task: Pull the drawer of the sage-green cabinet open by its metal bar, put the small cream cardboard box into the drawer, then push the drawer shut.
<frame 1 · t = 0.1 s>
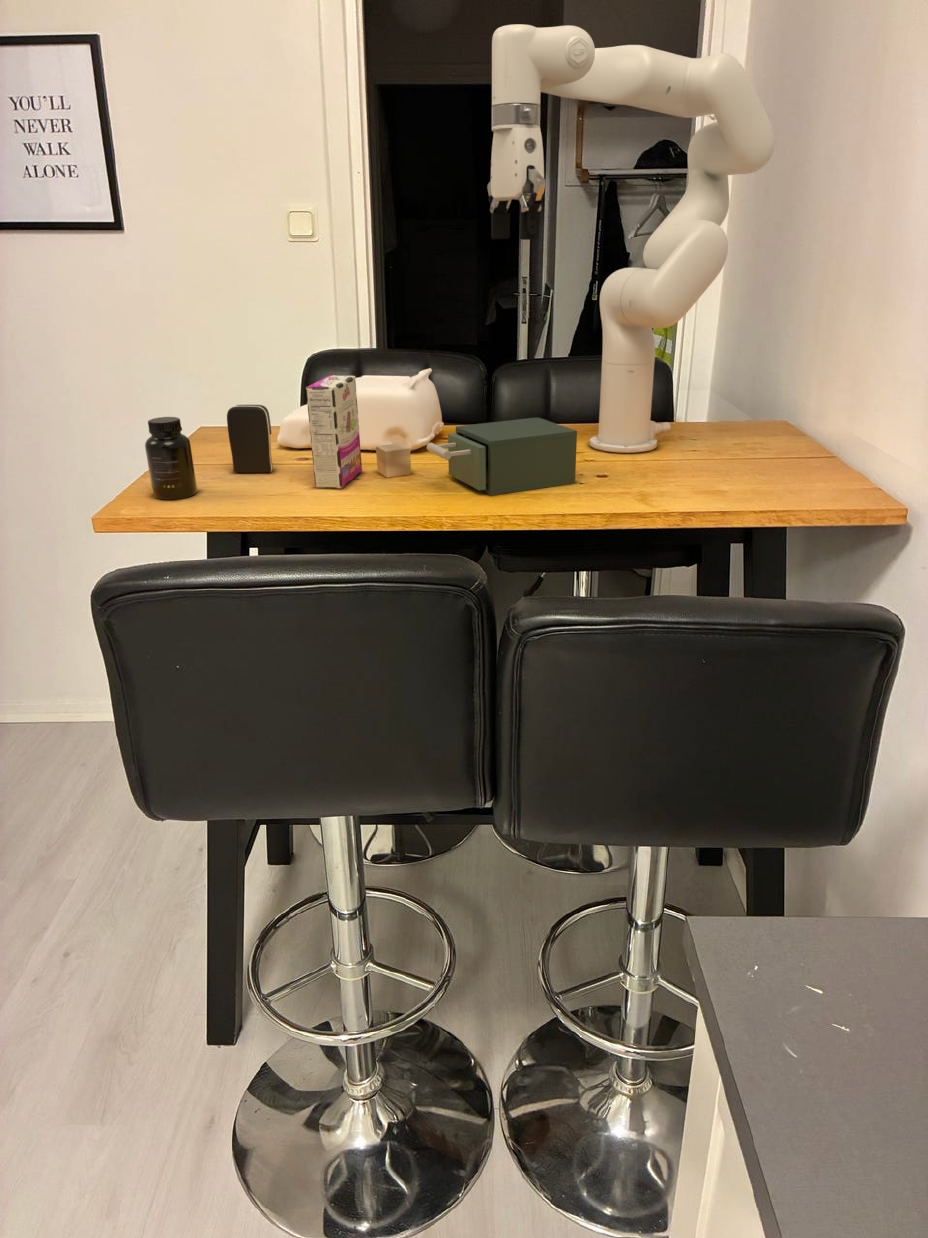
hand: (514, 239, 147), 37 cm above the table, tool pointing down, fingers open, 9 cm apart
supplement bottle: (175, 495, 144), on the table
candy bar box: (338, 481, 151), on the table
drawer: (489, 457, 146), point 4 cm above the table, slide at 0.5 cm
white rounded body: (364, 442, 178), on the table
cabinet: (514, 480, 150), on the table
cream box: (394, 473, 155), on the table
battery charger: (254, 471, 158), on the table
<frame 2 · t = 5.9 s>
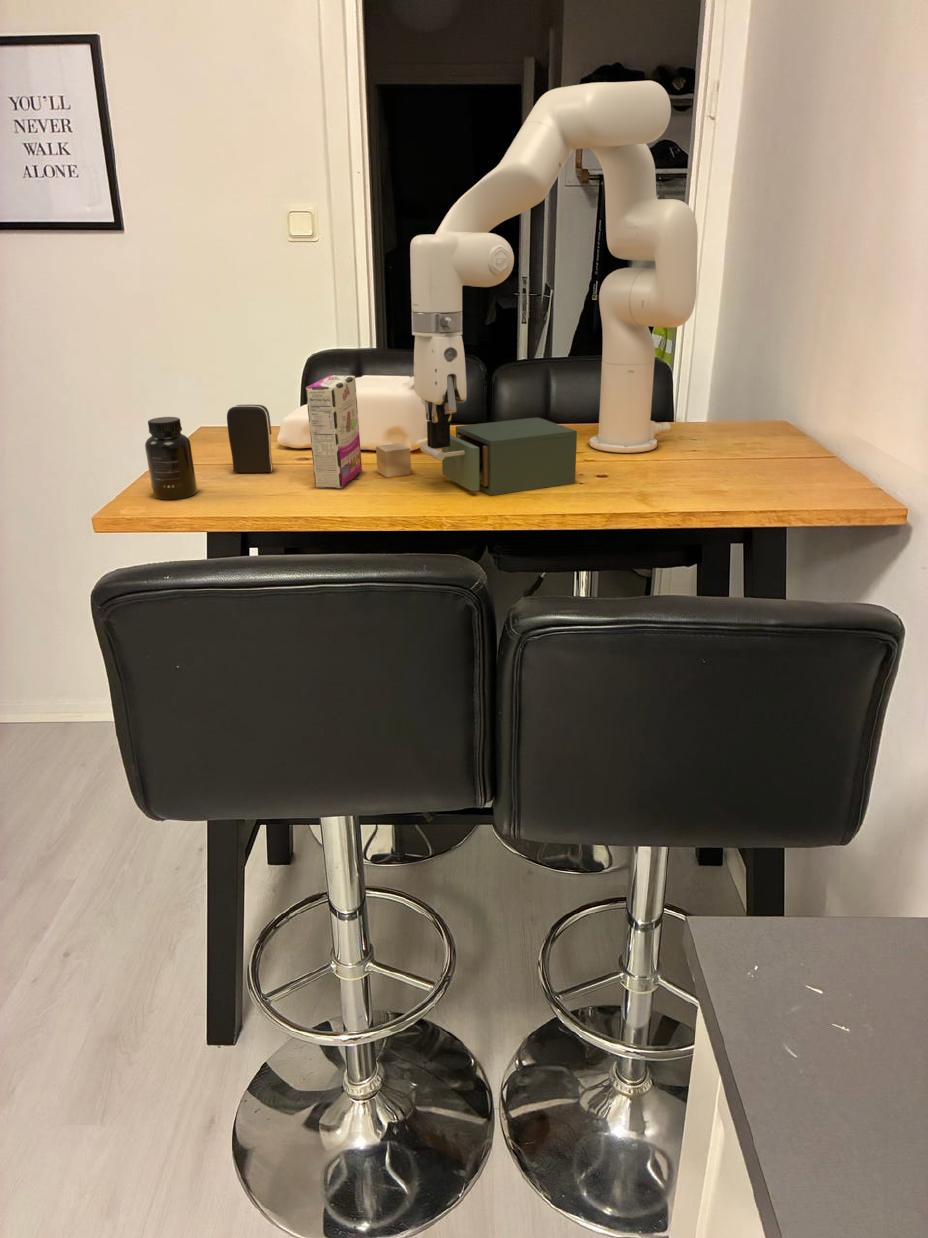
hand: (438, 446, 142), 7 cm above the table, tool pointing down, fingers closed
drawer: (483, 458, 146), point 4 cm above the table, slide at 1.6 cm, touching gripper
everything else where it was.
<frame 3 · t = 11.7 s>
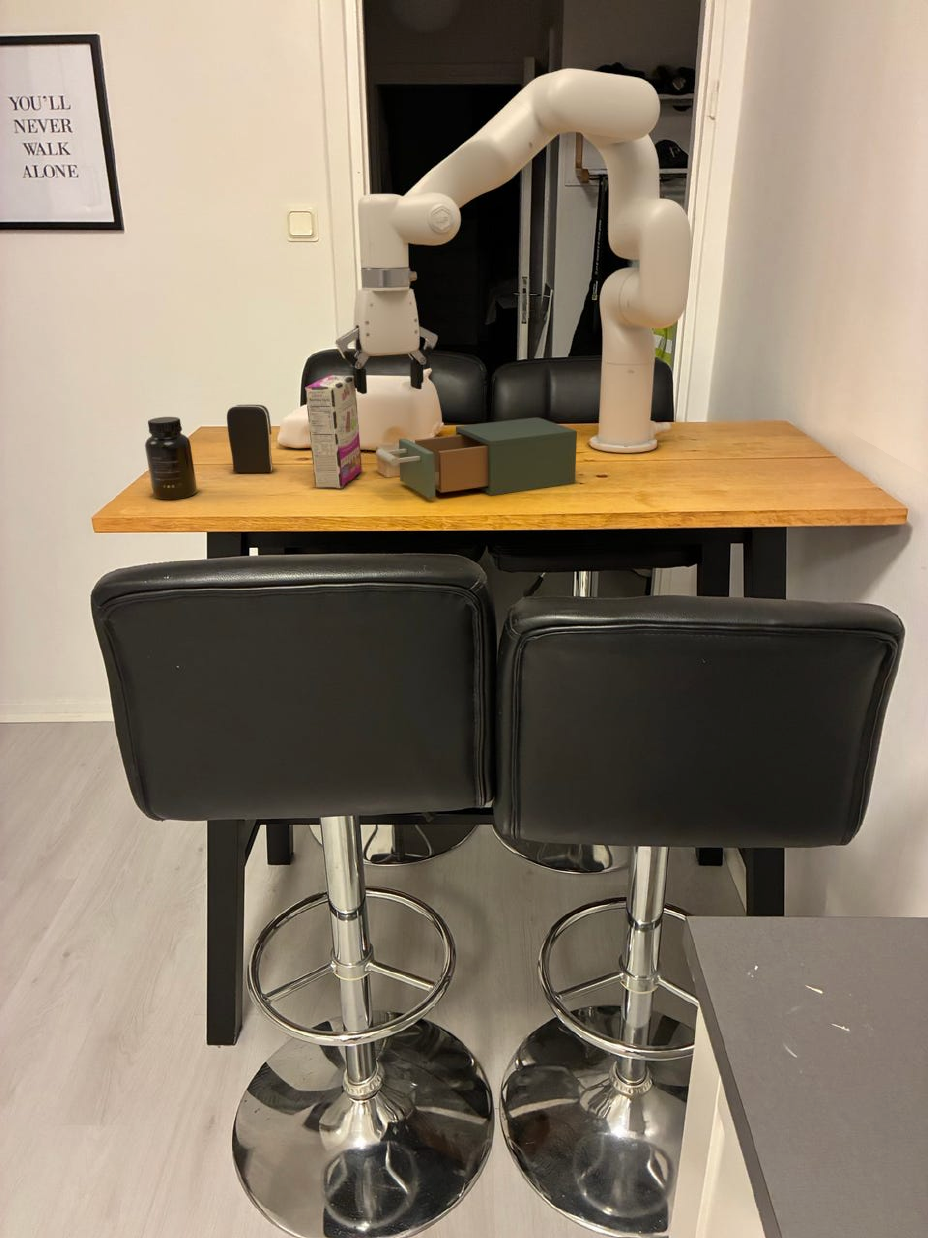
hand: (389, 390, 149), 14 cm above the table, tool pointing down, fingers open, 9 cm apart
candy bar box: (338, 481, 151), on the table, touching gripper
drawer: (441, 464, 143), point 4 cm above the table, slide at 9.2 cm
everything else where it was.
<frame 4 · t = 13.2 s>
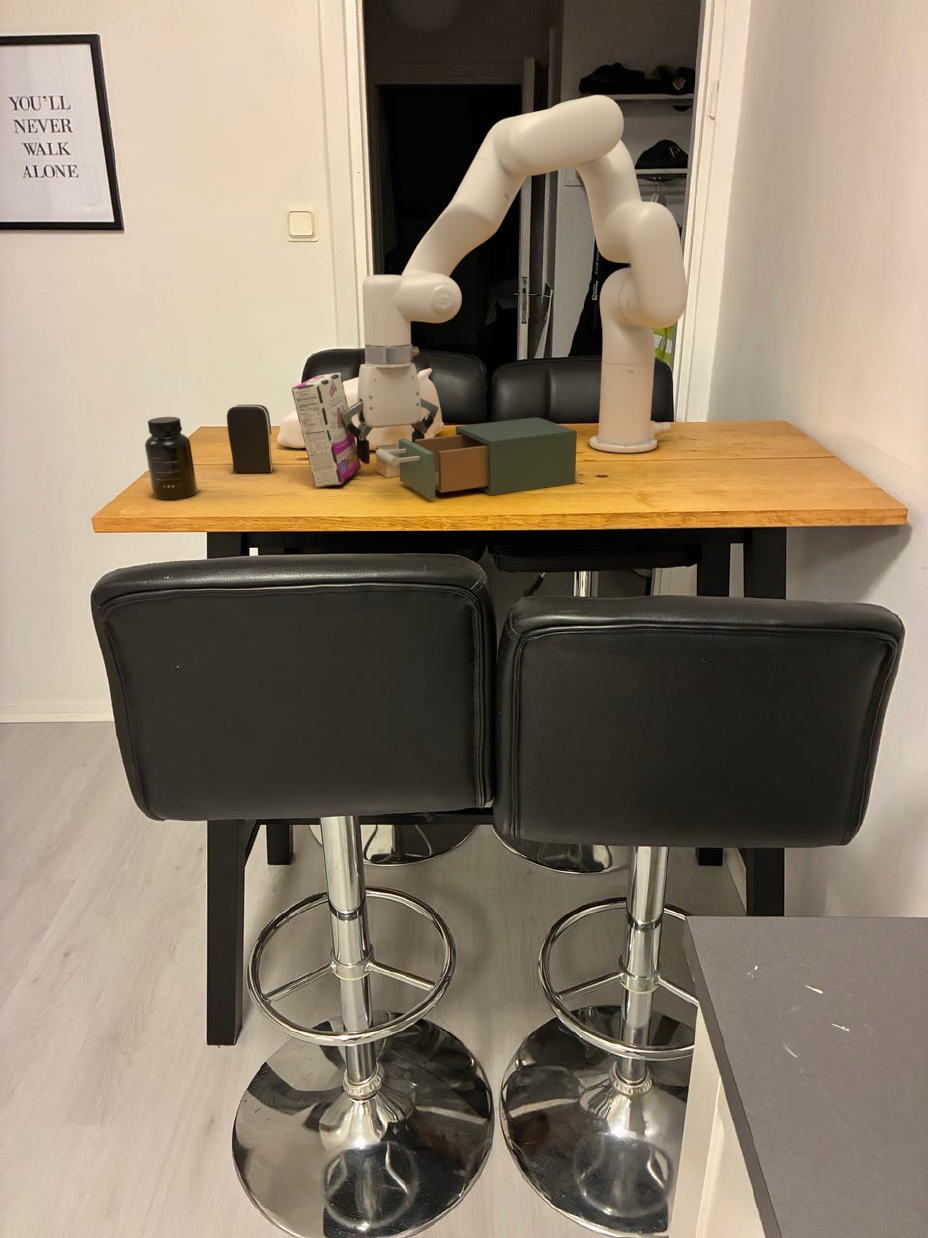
hand: (391, 459, 154), 2 cm above the table, tool pointing down, fingers open, 9 cm apart
candy bar box: (338, 479, 151), on the table
everything else where it was.
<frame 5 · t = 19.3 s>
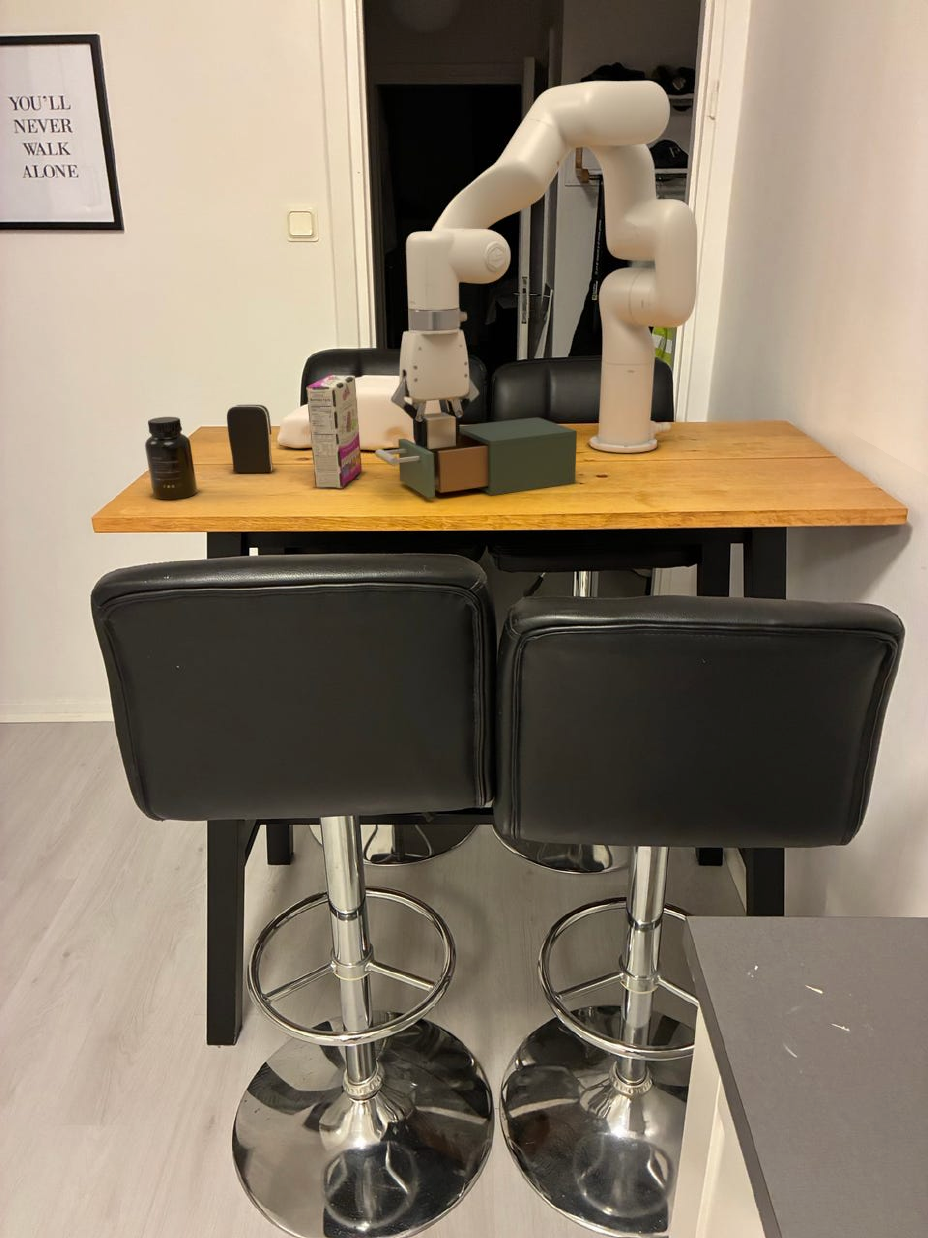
hand: (436, 442, 141), 8 cm above the table, tool pointing down, fingers closed on cream box, 4 cm apart
cream box: (436, 444, 141), point 7 cm above the table, touching gripper
when the fingers open (9 cm above the table, at t = 28.7 s): cream box drops 7 cm, resting on drawer.
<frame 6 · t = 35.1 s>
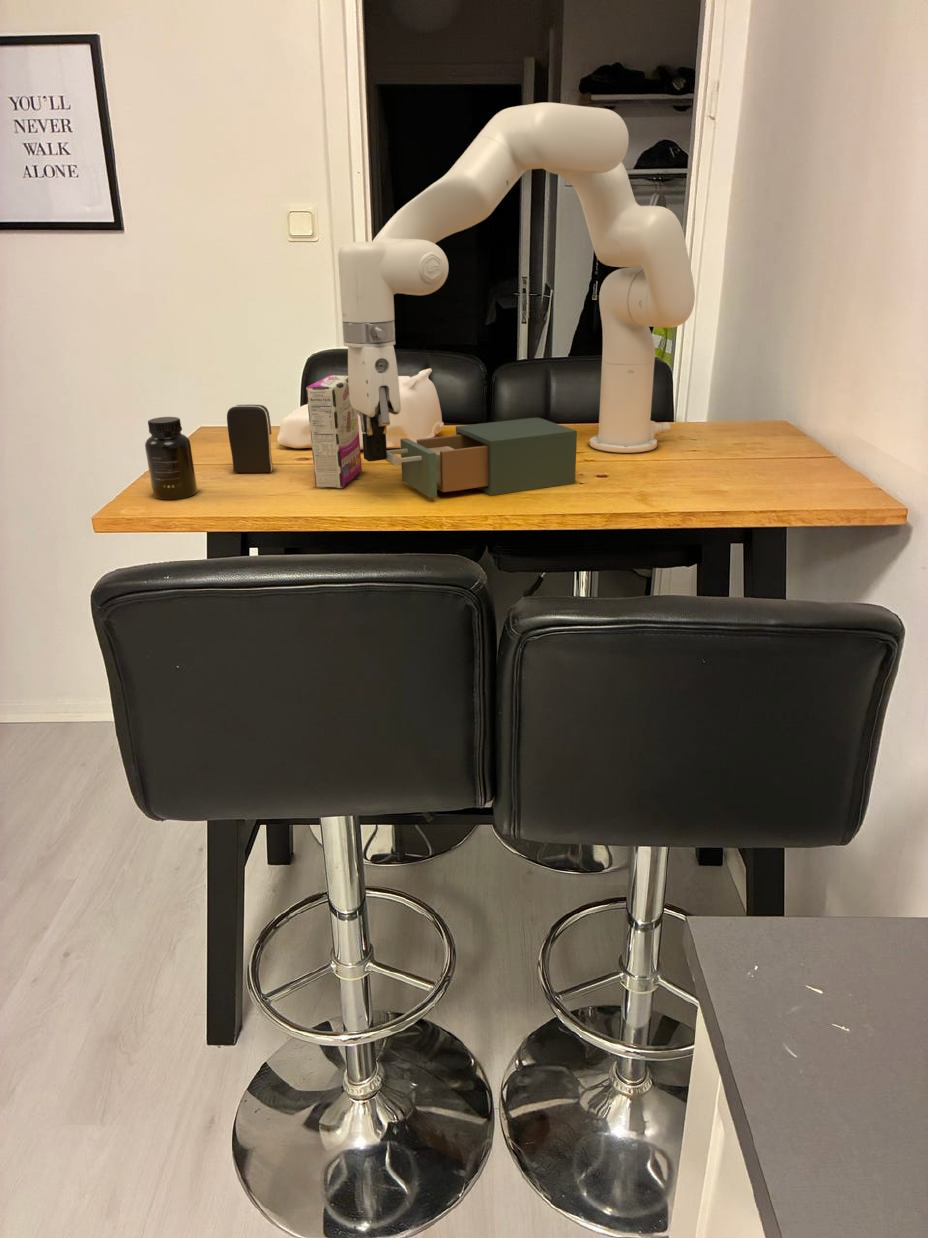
hand: (375, 459, 138), 6 cm above the table, tool pointing down, fingers closed
drawer: (442, 463, 143), point 4 cm above the table, slide at 8.9 cm, touching cream box, gripper
cream box: (441, 478, 144), point 2 cm above the table, touching drawer
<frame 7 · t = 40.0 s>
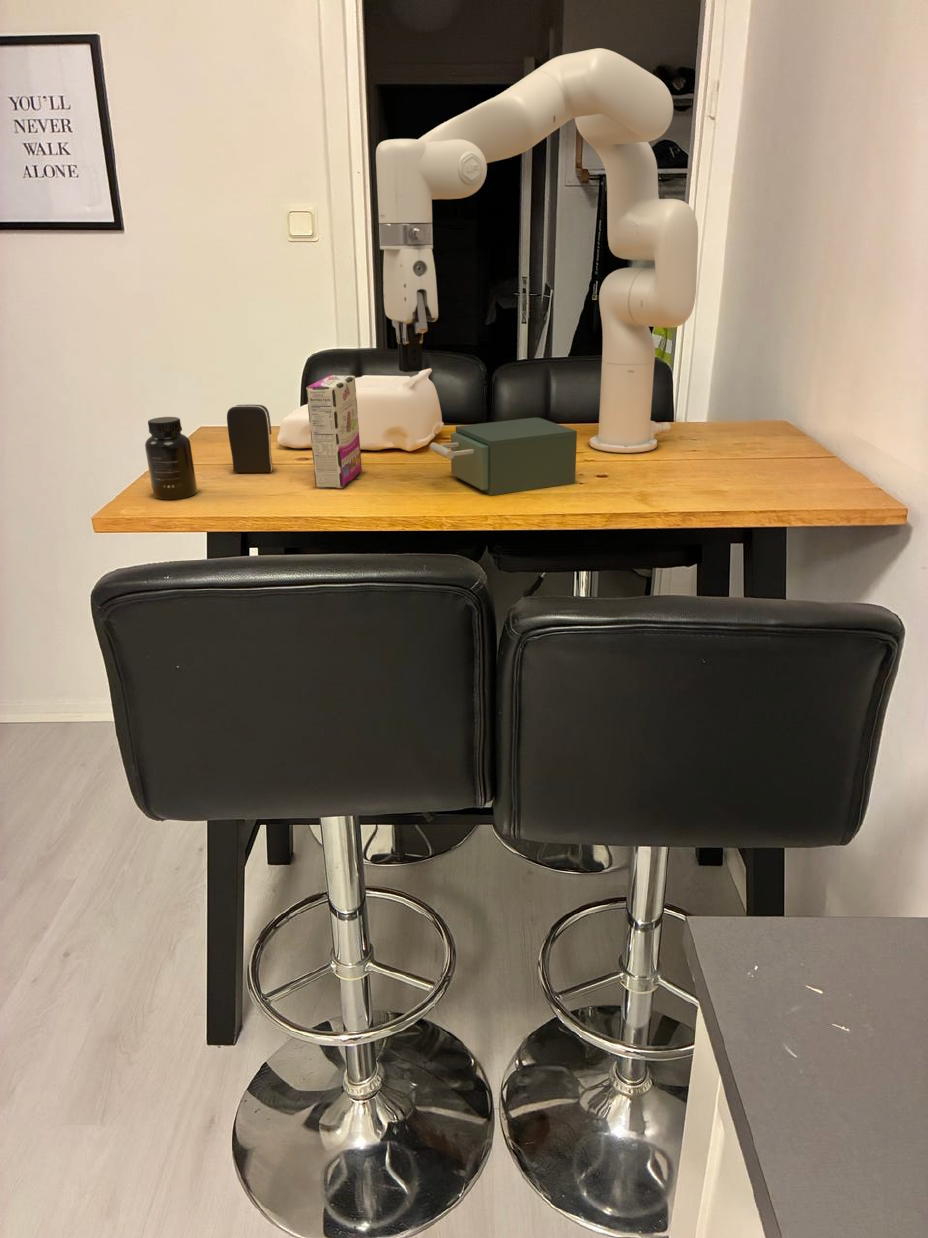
hand: (410, 370, 135), 19 cm above the table, tool pointing down, fingers closed
drawer: (492, 457, 146), point 4 cm above the table, slide at 0.0 cm, touching cabinet, cream box
cream box: (491, 471, 147), point 2 cm above the table, touching drawer
at the end: drawer pulled out 9.6 cm at the most during the clip, back to where it started at the end; cream box inside the target area in the cabinet (4.4 cm from its centre), point 2.0 cm above the cabinet's base; drawer slide at 0.0 cm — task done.
